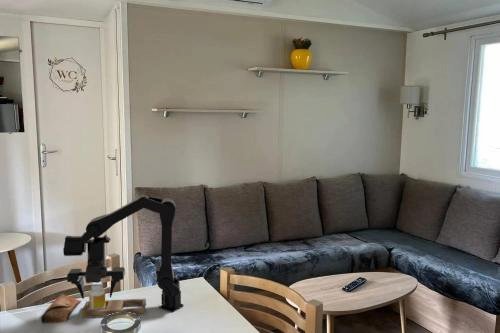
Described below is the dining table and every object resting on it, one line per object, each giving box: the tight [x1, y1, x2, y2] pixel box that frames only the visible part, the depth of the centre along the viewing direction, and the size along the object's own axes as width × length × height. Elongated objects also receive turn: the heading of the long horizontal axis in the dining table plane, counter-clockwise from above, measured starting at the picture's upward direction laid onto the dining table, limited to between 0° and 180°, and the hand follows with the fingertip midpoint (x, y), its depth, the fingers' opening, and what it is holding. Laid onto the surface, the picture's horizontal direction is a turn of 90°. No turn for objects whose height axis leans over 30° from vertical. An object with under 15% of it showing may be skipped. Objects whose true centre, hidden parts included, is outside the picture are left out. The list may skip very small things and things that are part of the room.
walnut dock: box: [80, 298, 147, 318], centre depth 156 cm, size 21×9×2 cm, turn 100°
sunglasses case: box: [41, 292, 82, 324], centre depth 155 cm, size 18×7×7 cm, turn 6°
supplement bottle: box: [88, 281, 106, 310], centre depth 155 cm, size 5×5×10 cm
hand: (97, 297), depth 155 cm, fingers open, 9 cm apart
